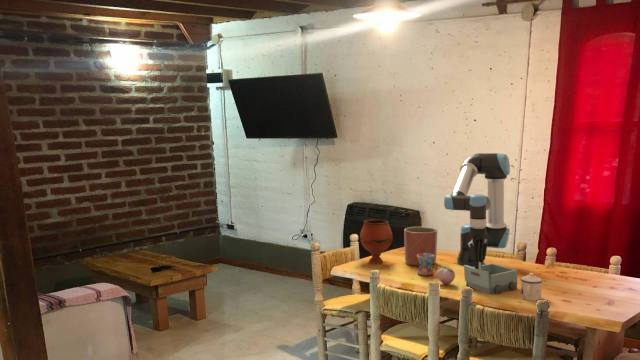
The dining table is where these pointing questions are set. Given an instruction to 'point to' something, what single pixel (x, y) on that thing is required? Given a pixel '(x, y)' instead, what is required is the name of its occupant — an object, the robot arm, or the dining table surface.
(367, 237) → the goblet
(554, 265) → the dining table surface
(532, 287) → the teacup with lid
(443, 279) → the decorative fruit
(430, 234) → the planter
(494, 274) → the truck bed
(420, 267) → the mug
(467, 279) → the tailgate
